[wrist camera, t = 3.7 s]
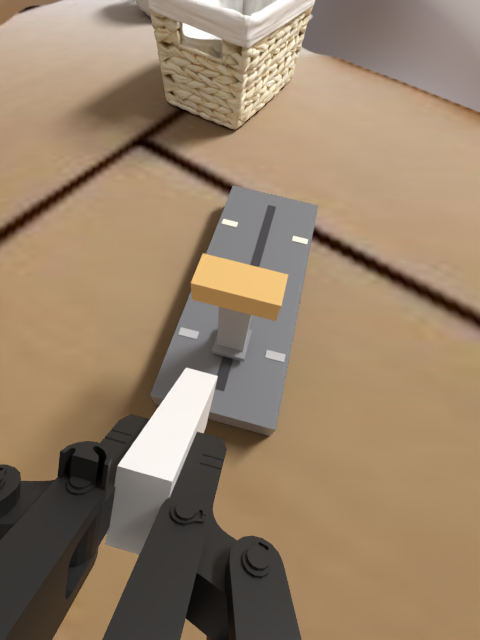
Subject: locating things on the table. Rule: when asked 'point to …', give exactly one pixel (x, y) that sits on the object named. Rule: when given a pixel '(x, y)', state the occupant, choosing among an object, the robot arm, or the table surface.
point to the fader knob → (237, 299)
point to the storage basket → (227, 53)
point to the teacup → (144, 6)
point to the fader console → (267, 335)
